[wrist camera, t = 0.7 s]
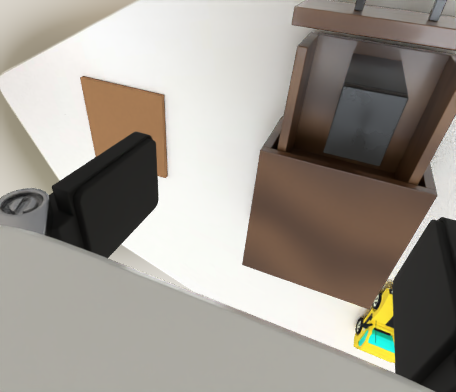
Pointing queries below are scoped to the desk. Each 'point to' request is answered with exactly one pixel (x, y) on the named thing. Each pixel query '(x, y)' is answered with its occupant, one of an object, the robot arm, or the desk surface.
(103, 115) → the pad
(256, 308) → the desk surface
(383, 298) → the toy car
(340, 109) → the tall lidded canister
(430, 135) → the drawer
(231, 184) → the desk surface
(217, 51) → the desk surface
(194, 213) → the desk surface
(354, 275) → the cabinet
